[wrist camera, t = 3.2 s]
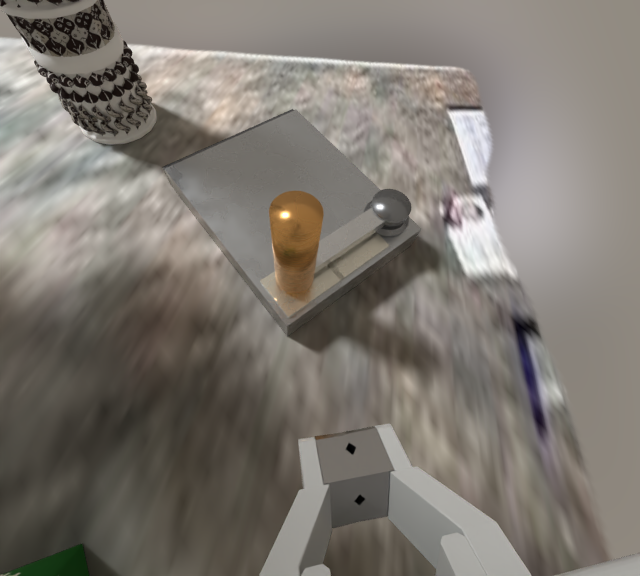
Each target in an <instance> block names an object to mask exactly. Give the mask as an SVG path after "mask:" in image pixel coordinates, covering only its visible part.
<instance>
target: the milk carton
mask: <svg viewBox="0 0 640 576" xmlns="http://www.w3.org/2000/svg"><path fill="white" fill-rule="evenodd" d="M0 576H89V572H88V567H87V563H86V558H85V554H84V549H83V545H82V544H80V545H77V546H75V547H72V548H69V549H67V550H64V551H62V552H59V553H56V554H54V555H51V556H49V557H46V558H44V559H41V560H38V561H36V562H33V563H31V564H28V565H25V566H23V567H20V568H18V569H15V570H12V571H10V572H7V573H5V574H2V575H0Z"/></svg>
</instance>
